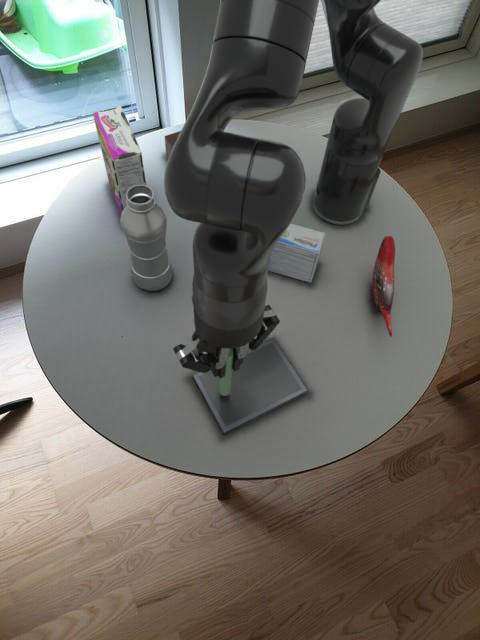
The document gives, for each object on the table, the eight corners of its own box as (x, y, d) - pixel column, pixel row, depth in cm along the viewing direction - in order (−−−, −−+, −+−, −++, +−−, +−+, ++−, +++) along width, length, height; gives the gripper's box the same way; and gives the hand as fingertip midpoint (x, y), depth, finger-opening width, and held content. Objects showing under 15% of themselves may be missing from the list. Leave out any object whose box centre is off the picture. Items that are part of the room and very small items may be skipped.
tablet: (272, 341, 85) (273, 337, 84) (306, 393, 81) (308, 390, 80) (192, 378, 81) (192, 374, 80) (223, 435, 77) (223, 432, 76)
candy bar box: (107, 185, 100) (91, 111, 86) (133, 179, 101) (122, 104, 87) (125, 230, 95) (110, 158, 81) (152, 222, 96) (143, 151, 82)
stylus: (226, 386, 79) (229, 343, 67) (232, 395, 79) (235, 354, 67) (217, 391, 79) (218, 349, 67) (222, 400, 78) (224, 359, 66)
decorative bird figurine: (381, 265, 94) (398, 227, 85) (388, 356, 85) (409, 324, 76) (364, 263, 94) (380, 226, 85) (370, 355, 85) (389, 323, 76)
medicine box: (317, 264, 93) (326, 232, 86) (310, 284, 91) (319, 253, 84) (273, 251, 94) (278, 218, 87) (265, 271, 92) (271, 239, 85)
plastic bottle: (167, 299, 88) (157, 217, 71) (127, 291, 89) (107, 207, 71) (177, 268, 91) (171, 182, 74) (138, 260, 92) (123, 172, 75)
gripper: (185, 353, 52) (191, 415, 67) (304, 299, 56) (285, 369, 71) (153, 295, 56) (166, 367, 71) (268, 247, 59) (257, 325, 74)
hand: (226, 368), depth 71 cm, fingers closed on stylus, 1 cm apart
